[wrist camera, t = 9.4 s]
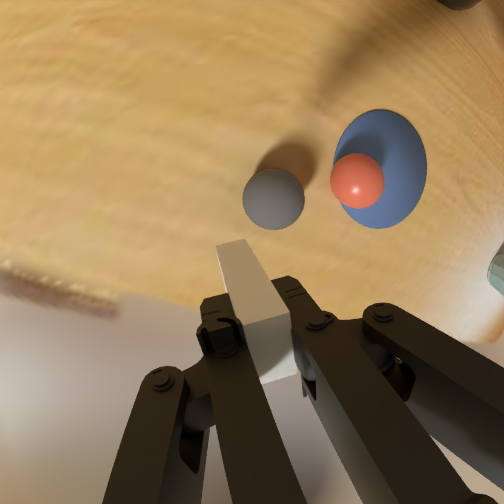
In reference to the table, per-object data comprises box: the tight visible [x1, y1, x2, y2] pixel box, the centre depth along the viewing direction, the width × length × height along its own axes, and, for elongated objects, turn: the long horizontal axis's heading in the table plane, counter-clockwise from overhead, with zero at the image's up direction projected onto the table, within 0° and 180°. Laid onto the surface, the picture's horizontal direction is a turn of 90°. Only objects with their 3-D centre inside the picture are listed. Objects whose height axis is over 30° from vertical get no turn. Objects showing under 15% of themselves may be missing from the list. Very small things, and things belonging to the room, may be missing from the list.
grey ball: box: [243, 168, 305, 230], centre depth 26 cm, size 6×6×6 cm
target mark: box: [333, 110, 427, 229], centre depth 30 cm, size 14×14×1 cm
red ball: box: [330, 153, 385, 209], centre depth 27 cm, size 6×6×6 cm
